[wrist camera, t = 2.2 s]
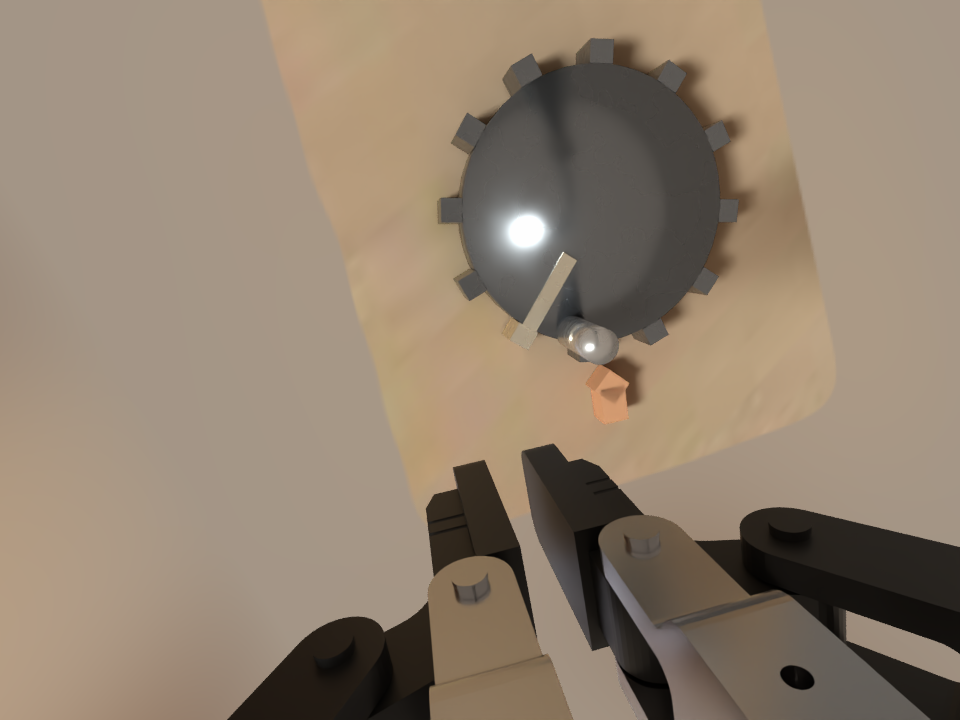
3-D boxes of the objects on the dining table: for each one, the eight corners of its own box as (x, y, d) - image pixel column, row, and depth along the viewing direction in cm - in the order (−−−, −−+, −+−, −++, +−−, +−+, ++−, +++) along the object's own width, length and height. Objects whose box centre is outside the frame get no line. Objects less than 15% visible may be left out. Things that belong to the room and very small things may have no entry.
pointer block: (583, 367, 30) (592, 373, 28) (616, 360, 30) (627, 365, 28) (589, 416, 30) (599, 425, 29) (622, 409, 31) (633, 417, 29)
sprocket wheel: (533, -13, 25) (575, -91, 19) (766, 160, 28) (860, 138, 23) (384, 269, 27) (381, 276, 21) (621, 399, 30) (675, 436, 24)
